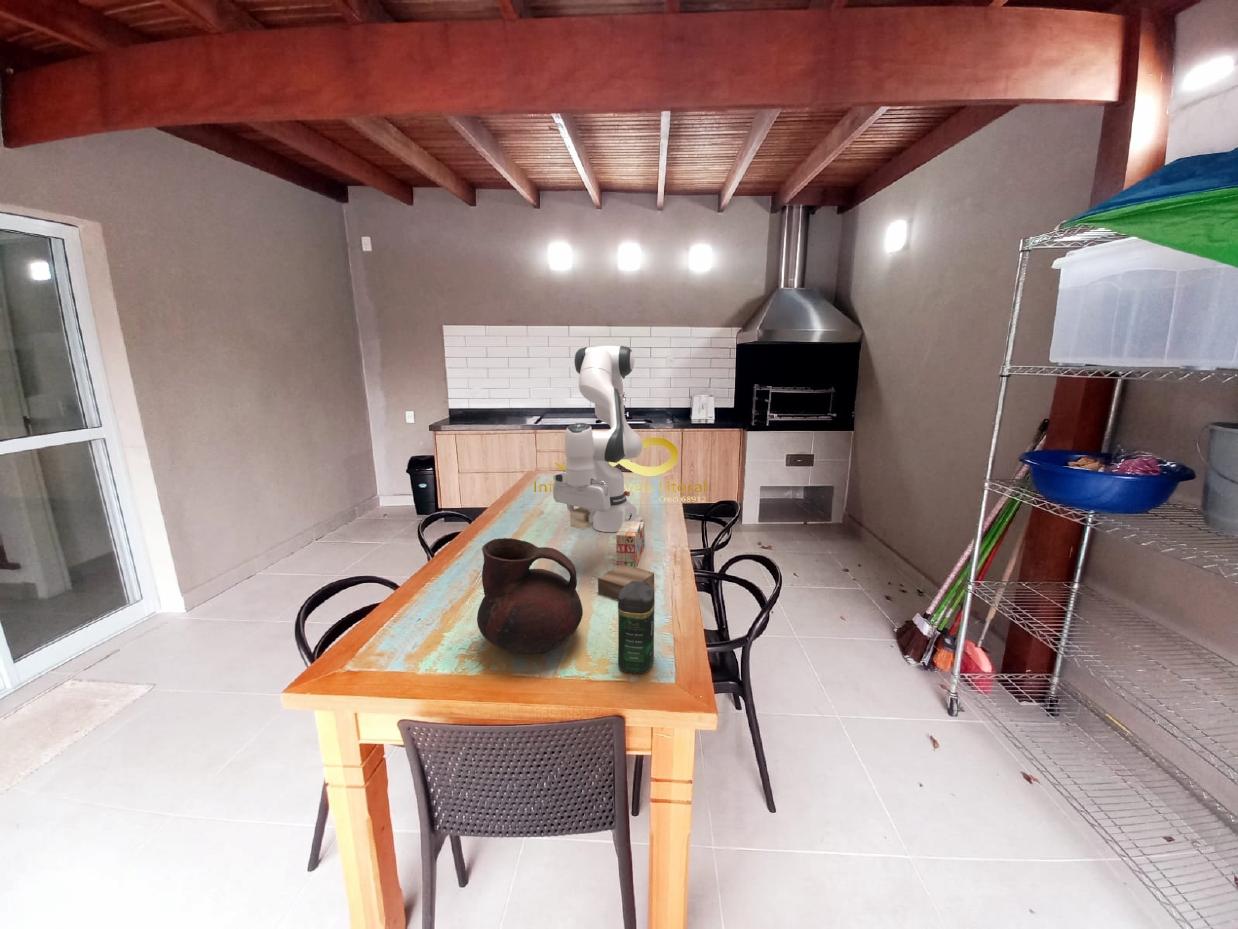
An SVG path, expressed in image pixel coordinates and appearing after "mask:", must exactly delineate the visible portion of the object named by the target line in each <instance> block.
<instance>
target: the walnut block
mask: <svg viewBox="0 0 1238 929" xmlns="http://www.w3.org/2000/svg"><path fill="white" fill-rule="evenodd" d="M631 581H639V582H646V583H649V584H650V585H651V586H652V587H653V589H654V590H655V572H652V571H650V570H646V569H642V568H638V567H636V568H635V567H632V566H628V565H625V564H619V565H618V566H617V565H616V566H614V567H613V568H611V569H610V570H608V571H607V572H605V573H604V574H601V575H600V576H599V577H597V593H598V595H601V596H604V597H607V598H610V599H613V600H616V601H618V596H619V594H620V592H621V590H622V588H623V587H624V586H625V585H626V584H628V583H630V582H631Z"/></svg>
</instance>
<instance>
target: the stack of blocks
mask: <svg viewBox="0 0 1238 929" xmlns="http://www.w3.org/2000/svg"><path fill="white" fill-rule="evenodd" d="M615 538H616V542H615V543H616V545H615V546H616V547H615V548H616V566H618V565H619V564H625V565H628V566H632V567H635V568H638V564H639V563H640V560H641V557H642V553H643V551H644V548H645V522H644V521H641V522H632V521H628V522H623V523H622V526H621V528H620V529H619V531H618V532H616V537H615Z"/></svg>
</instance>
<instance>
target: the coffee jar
mask: <svg viewBox="0 0 1238 929" xmlns="http://www.w3.org/2000/svg"><path fill="white" fill-rule="evenodd" d="M655 605H656V604H655V588H654V589H653V587H652V586H651V585H650V584H649V583H646V582H639V581H631V582H630V583H628V584H626V585H625V586H624V587H623V588H622V590H621V592H620V594H619V596H618V600H617V614H618V618H617V619H618V620H617V621H618V622H617V623H618V624H617V625H618V629H617V630H618V635H617V636H618V637H617V638H618V639H617V640H618V644H617V645H618V646H617V648H618V649H617V651H618V652H617V654H618V655H617V665H618V667H619V669H620V670H621V671H624V672H626V673H629V674H635V675H636V674H637V675H639V674H645V673H647V672H649V671H650V669H651V667H652V665H653V662H654V658H655V608H656V607H655Z"/></svg>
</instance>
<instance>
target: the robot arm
mask: <svg viewBox="0 0 1238 929" xmlns="http://www.w3.org/2000/svg"><path fill="white" fill-rule="evenodd" d="M573 364H574V368H575V371H576V373H577V374H578V375H579V378H578V390H579V392H580V393H581V395H582V397H583V398H585V399H586V400H587V401H589V402H591V403H593V404H594V414H595V417H597V419H598V420H599V421H601V422H603V423H605V424H606V425H609V427H610V429H609V430H593V429H592V425H590V424H588V423H586V422H585V423H584V422H576V423H571V424H570V425H568V426H566V428H565V429H566V430H565V438H564V455H565V458H566V462H565V463H566V464H565V470H563V471H559V472H556V473H555V474H553V477H552V478H553V481H554V482H553V483H552V494H553V495H552V496H553V500H554V501H555V502H556V503H560V504H563V505H566V508H567V510H568V512H569V513H570V511H572V510H574V509H575V507H577V508H579V507H582V508H586V509H589V512H590V514H589V516H587V517H586V519H587V520H586V521H587V522H590V523H591V522H593V525H592V527H593V529H594V530H596V531H599V532H605V533H618V531H619V529H620V528H621V526H622V523H623V522H628V521H632V522H640V521H641V520H642V521H643V517H641V516H640V515H638V514H637V508H636V506H635V505H634V504H633V503H631V502H630V501H628V499H627V497H630V495H631V492H630V490H629V491H628V490H627V491H626V490H625V485H624V484H625V482H624V481H625V476H624V473H623V472H622V471H621V470H620V469H619V468H617V467H615V466H613V465H611V463H615V464H617V463H618V462H620V461H622V460H631V459H636V458H637V457H639V456H640V454H641V453H642V451H643V440H642V438H641V436H640V435H639V434H638V433H637V432H636V431H634V430H633V428H631V426H630V425H629V423H628V422H627V419H626V416H625V407H624V406H625V404H624V386H623V379H626V376H628V375H630V374H631V373H632V371H633V368H634V365H635V356H634V353H633V350H632V348H630V347H628V346H625V345H620V346H618V345H617V346H616V345H600V346H590V347H588V346H586V347H581V348H579V349H578V350H577V351H576V352H575V354H574V362H573ZM642 521H641V522H642Z"/></svg>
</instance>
